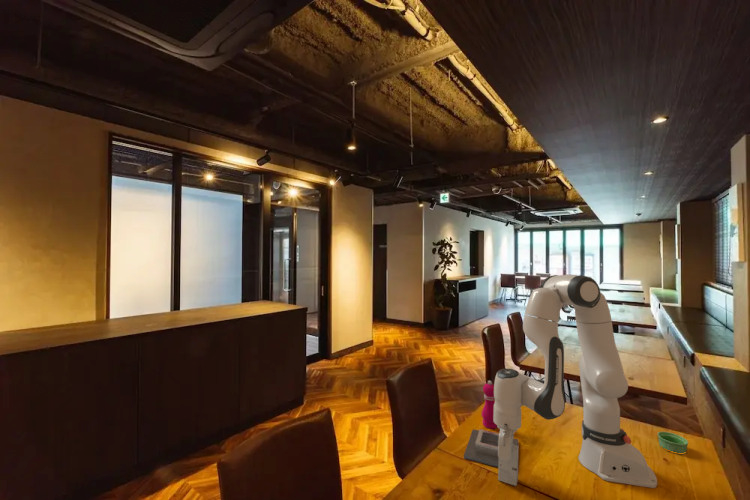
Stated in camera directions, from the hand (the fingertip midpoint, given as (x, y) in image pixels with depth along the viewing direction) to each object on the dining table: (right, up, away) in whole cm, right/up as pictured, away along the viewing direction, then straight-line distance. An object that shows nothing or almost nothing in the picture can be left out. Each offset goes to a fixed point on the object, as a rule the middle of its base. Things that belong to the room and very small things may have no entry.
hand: (506, 458), depth 113 cm
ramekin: (+72, -7, +17) cm, 75 cm away
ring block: (+1, -7, +16) cm, 18 cm away
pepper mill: (+7, -7, +35) cm, 36 cm away
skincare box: (+1, -7, 0) cm, 7 cm away
